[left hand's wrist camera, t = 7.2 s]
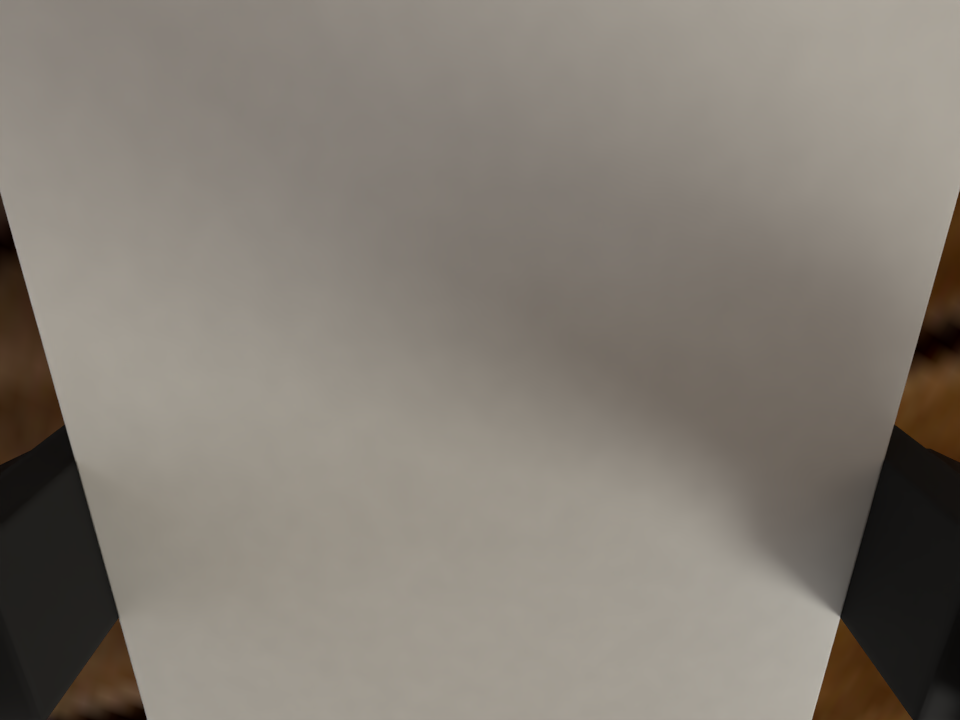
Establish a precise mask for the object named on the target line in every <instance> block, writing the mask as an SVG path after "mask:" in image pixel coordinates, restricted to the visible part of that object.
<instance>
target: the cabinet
mask: <svg viewBox="0 0 960 720" xmlns="http://www.w3.org/2000/svg"><path fill="white" fill-rule="evenodd" d="M959 190H960V0H0V193H1V197H2V200H3V204H4V207H5V211H6V214H7V218H8V222H9V225H10V229H11V232H12V236H13V240H14V243H15V247H16V250H17V254H18V258H19V261H20V265H21V268H22V272H23V275H24V279H25V283H26V286H27V290H28V293H29V297H30V301H31V304H32V308H33V311H34V315H35V319H36V322H37V326H38V329H39V333H40V336H41V340H42V344H43V347H44V351H45V354H46V358H47V362H48V365H49V369H50V372H51V376H52V380H53V383H54V387H55V390H56V394H57V397H58V401H59V405H60V408H61V412H62V415H63V419H64V423H65V426H66V430H67V433H68V437H69V441H70V444H71V448H72V451H73V455H74V458H75V462H76V466H77V469H78V473H79V476H80V480H81V484H82V487H83V491H84V494H85V498H86V502H87V505H88V509H89V512H90V516H91V519H92V523H93V527H94V530H95V534H96V537H97V541H98V545H99V548H100V552H101V555H102V559H103V563H104V566H105V570H106V573H107V577H108V580H109V584H110V588H111V591H112V595H113V598H114V602H115V606H116V609H117V613H118V616H119V620H120V624H121V627H122V631H123V634H124V638H125V641H126V645H127V649H128V652H129V656H130V659H131V663H132V667H133V670H134V674H135V677H136V681H137V684H138V688H139V692H140V695H141V699H142V702H143V706H144V710H145V713H146V717H147V720H812V717H813V713H814V710H815V706H816V703H817V699H818V696H819V692H820V688H821V685H822V681H823V678H824V674H825V670H826V667H827V663H828V660H829V656H830V653H831V649H832V645H833V642H834V638H835V635H836V631H837V627H838V624H839V620H840V616H841V613H842V609H843V606H844V602H845V598H846V595H847V591H848V588H849V584H850V580H851V577H852V573H853V570H854V566H855V562H856V559H857V555H858V552H859V548H860V544H861V541H862V537H863V534H864V530H865V527H866V523H867V519H868V516H869V512H870V509H871V505H872V501H873V498H874V494H875V491H876V487H877V483H878V480H879V476H880V473H881V469H882V465H883V462H884V459H885V455H886V452H887V448H888V445H889V441H890V437H891V434H892V430H893V427H894V423H895V419H896V416H897V412H898V409H899V405H900V401H901V398H902V394H903V391H904V387H905V384H906V380H907V376H908V373H909V369H910V366H911V362H912V358H913V355H914V351H915V348H916V344H917V341H918V337H919V333H920V330H921V326H922V323H923V319H924V315H925V312H926V308H927V305H928V301H929V297H930V294H931V290H932V287H933V283H934V280H935V276H936V272H937V269H938V265H939V262H940V258H941V254H942V251H943V247H944V244H945V240H946V237H947V233H948V229H949V226H950V222H951V219H952V215H953V211H954V208H955V204H956V201H957V197H958V193H959Z"/></svg>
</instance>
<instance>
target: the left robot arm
mask: <svg viewBox="0 0 960 720" xmlns="http://www.w3.org/2000/svg"><path fill="white" fill-rule="evenodd" d="M840 617H841V619H842V620H843V622H844V623H845V624H846V626H847V627H848V629H849V630H850V631H851V633H852V634H853V636H854V637H855V639H856V640H857V641H858V643H859V644H860V646H861V647H862V648H863V650H864V651H865V653H866V654H867V655H868V657H869V658H870V660H871V661H872V663H873V664H874V665H875V667H876V668H877V670H878V671H879V672H880V674H881V675H882V677H883V678H884V680H885V681H886V682H887V684H888V685H889V687H890V688H891V689H892V691H893V692H894V694H895V695H896V696H897V698H898V699H899V701H900V702H901V704H902V705H903V706H904V708H905V709H906V711H907V712H908V713H909V715H910V716H911V718H912V719H913V720H960V463H959V462H957V461H955V460H953V459H951V458H949V457H947V456H944V455H942V454H940V453H938V452H936V451H934V450H932V449H926V448H924V447H923V446H922V445H920V444H919V443H918V442H916V441H915V440H914V439H913V438H911V437H910V436H909V435H907V434H906V433H905V432H903V431H902V430H901V429H899V428H898V427H897V426H895V425H894V427H893V430H892V434H891V437H890V441H889V445H888V448H887V452H886V455H885V459H884V462H883V465H882V469H881V473H880V476H879V480H878V483H877V487H876V491H875V494H874V498H873V501H872V505H871V509H870V512H869V516H868V519H867V523H866V527H865V530H864V534H863V537H862V541H861V544H860V548H859V552H858V555H857V559H856V562H855V566H854V570H853V573H852V577H851V580H850V584H849V588H848V591H847V595H846V598H845V602H844V606H843V609H842V613H841V616H840ZM118 618H119V616H118V613H117V609H116V606H115V602H114V598H113V595H112V591H111V588H110V584H109V580H108V577H107V573H106V570H105V566H104V563H103V559H102V555H101V552H100V548H99V545H98V541H97V537H96V534H95V530H94V527H93V523H92V519H91V516H90V512H89V509H88V505H87V502H86V498H85V494H84V491H83V487H82V484H81V480H80V476H79V473H78V469H77V466H76V462H75V458H74V455H73V451H72V448H71V444H70V441H69V437H68V433H67V430H66V426H65V425H64V426H62V427H61V428H60V429H59V430H57V431H56V432H55V433H53V434H52V435H51V436H49V437H48V438H47V439H45V440H44V441H43V442H41V443H40V444H39V445H38V446H36V447H35V448H34V449H32V450H31V451H29V452H27V453H25V454H22V455H20V456H18V457H16V458H14V459H12V460H10V461H8V462H6V463H4V464H1V465H0V720H46V719H47V718H48V717H49V715H50V714H51V712H52V711H53V710H54V708H55V707H56V705H57V704H58V702H59V701H60V700H61V698H62V697H63V695H64V694H65V693H66V691H67V690H68V688H69V687H70V686H71V684H72V683H73V681H74V680H75V678H76V677H77V676H78V674H79V673H80V671H81V670H82V669H83V667H84V666H85V664H86V663H87V662H88V660H89V659H90V657H91V656H92V654H93V653H94V652H95V650H96V649H97V647H98V646H99V645H100V643H101V642H102V640H103V639H104V638H105V636H106V635H107V633H108V632H109V630H110V629H111V628H112V626H113V625H114V623H115V622H116V621H117V619H118Z"/></svg>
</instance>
